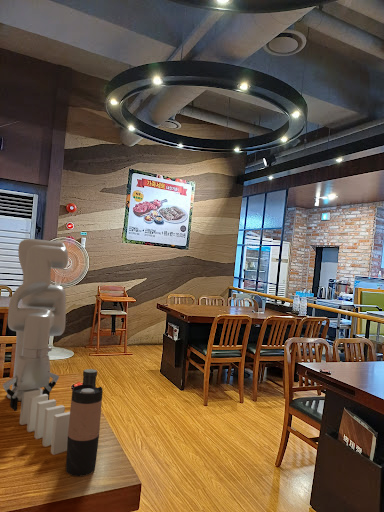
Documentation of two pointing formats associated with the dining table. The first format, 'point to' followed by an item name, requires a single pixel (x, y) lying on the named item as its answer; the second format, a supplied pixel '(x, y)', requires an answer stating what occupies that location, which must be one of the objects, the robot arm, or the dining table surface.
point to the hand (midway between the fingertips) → (29, 405)
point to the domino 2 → (34, 410)
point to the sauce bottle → (89, 377)
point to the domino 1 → (26, 404)
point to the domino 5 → (60, 433)
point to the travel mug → (83, 429)
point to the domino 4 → (50, 423)
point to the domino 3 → (42, 416)
